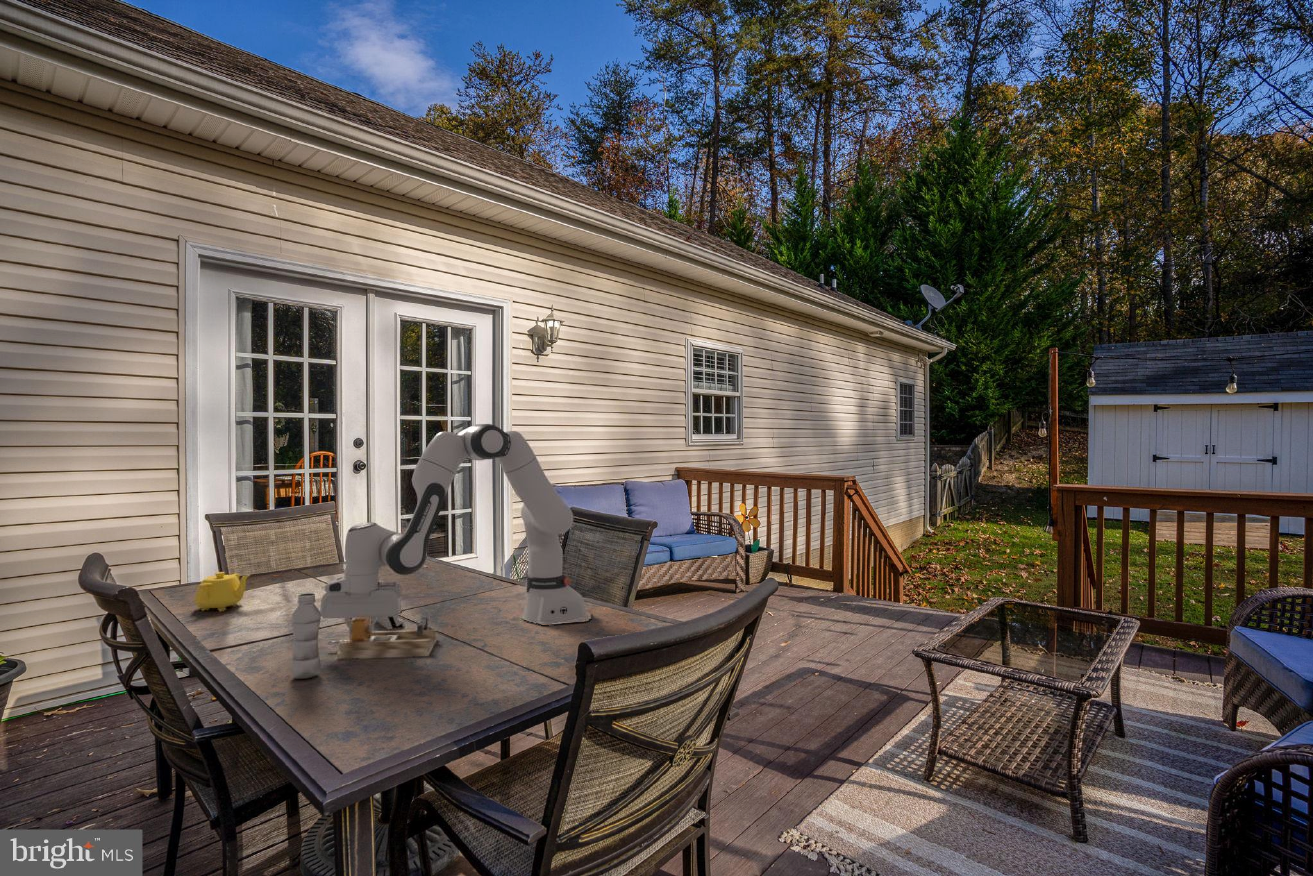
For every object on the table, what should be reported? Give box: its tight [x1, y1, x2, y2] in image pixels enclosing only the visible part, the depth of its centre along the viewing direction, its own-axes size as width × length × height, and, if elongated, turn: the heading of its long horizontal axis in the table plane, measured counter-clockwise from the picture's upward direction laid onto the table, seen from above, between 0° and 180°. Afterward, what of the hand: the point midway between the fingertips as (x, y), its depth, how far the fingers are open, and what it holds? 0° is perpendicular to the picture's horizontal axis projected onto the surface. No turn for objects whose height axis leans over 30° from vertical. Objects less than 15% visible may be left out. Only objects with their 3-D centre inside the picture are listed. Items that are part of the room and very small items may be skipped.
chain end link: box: [326, 617, 399, 646], centre depth 176 cm, size 18×7×7 cm, turn 100°
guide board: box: [336, 629, 438, 660], centre depth 177 cm, size 23×14×4 cm, turn 100°
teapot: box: [194, 571, 251, 611], centre depth 213 cm, size 14×14×12 cm
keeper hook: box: [416, 616, 430, 637], centre depth 181 cm, size 2×8×5 cm, turn 10°
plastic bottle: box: [289, 592, 322, 680], centre depth 156 cm, size 6×7×20 cm
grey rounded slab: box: [376, 615, 406, 630], centre depth 201 cm, size 17×5×10 cm, turn 41°
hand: (361, 633), depth 176 cm, fingers closed on chain end link, 3 cm apart
